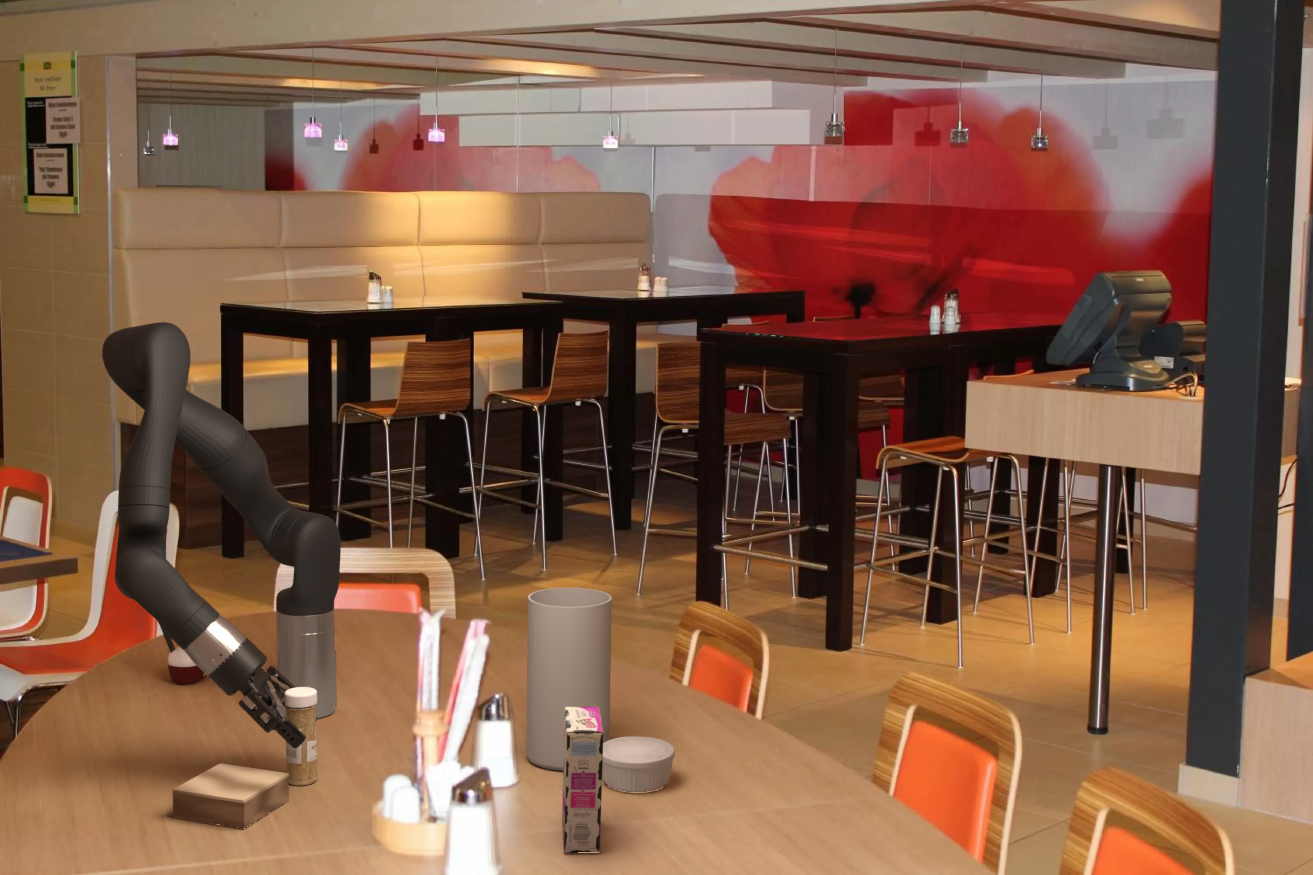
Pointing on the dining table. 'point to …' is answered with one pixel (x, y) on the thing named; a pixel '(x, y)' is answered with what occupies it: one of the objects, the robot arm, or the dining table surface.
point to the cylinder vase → (565, 666)
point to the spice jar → (304, 718)
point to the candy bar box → (582, 779)
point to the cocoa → (182, 665)
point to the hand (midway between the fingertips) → (307, 733)
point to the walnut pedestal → (230, 795)
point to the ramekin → (637, 763)
